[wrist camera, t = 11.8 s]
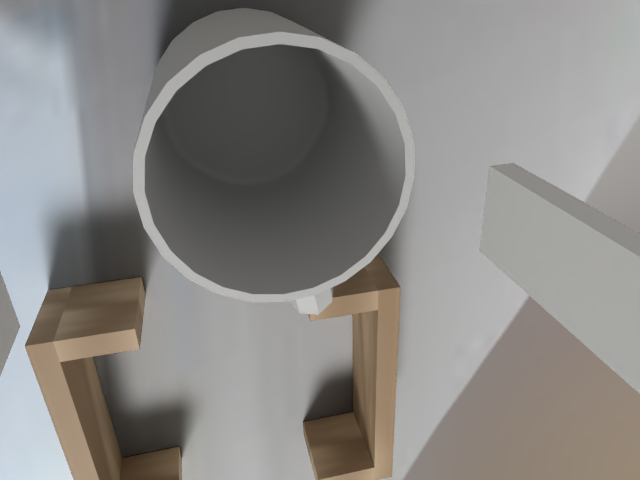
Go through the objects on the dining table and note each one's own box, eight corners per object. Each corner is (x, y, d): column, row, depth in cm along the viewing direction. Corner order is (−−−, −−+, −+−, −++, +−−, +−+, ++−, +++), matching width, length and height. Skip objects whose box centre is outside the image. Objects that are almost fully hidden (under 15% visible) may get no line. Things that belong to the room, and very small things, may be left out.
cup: (309, -18, 20) (390, -8, 12) (361, 214, 25) (443, 327, 17) (119, 36, 19) (77, 84, 11) (211, 263, 24) (225, 403, 16)
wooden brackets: (107, 474, 29) (97, 543, 26) (48, 290, 24) (24, 346, 20) (369, 420, 32) (392, 476, 28) (371, 244, 26) (400, 287, 23)
